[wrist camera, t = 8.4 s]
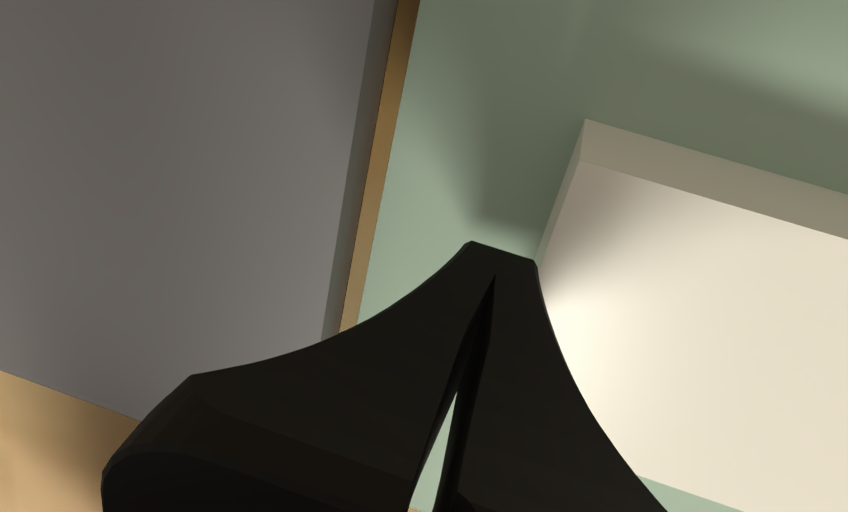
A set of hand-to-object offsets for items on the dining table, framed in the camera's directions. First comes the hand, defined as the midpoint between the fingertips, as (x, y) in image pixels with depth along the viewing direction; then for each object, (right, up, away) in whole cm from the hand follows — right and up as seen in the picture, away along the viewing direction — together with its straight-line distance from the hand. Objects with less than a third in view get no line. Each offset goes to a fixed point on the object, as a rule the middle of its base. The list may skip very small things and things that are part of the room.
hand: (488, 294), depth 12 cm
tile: (+5, -1, 0) cm, 5 cm away
